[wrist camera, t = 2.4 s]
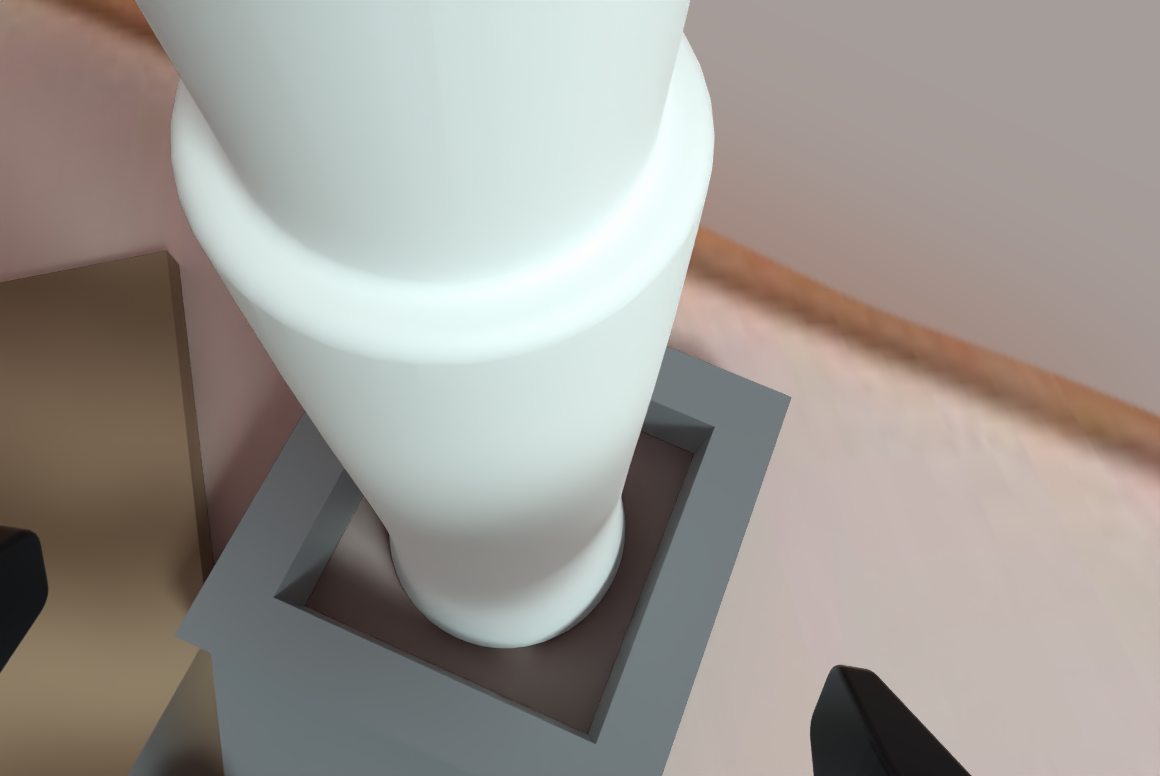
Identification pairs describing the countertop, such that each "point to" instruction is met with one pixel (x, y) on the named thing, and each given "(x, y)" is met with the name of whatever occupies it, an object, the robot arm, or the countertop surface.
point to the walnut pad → (103, 517)
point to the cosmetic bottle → (456, 261)
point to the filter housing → (427, 692)
